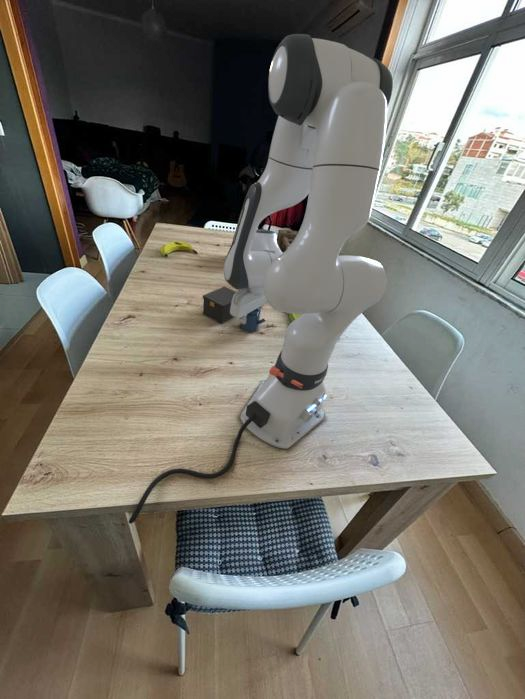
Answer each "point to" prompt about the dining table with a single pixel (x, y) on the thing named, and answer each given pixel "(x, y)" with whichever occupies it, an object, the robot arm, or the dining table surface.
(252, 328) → the teapot
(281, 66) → the robot arm
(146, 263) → the dining table surface
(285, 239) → the ornamental box
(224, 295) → the black box
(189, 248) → the banana
